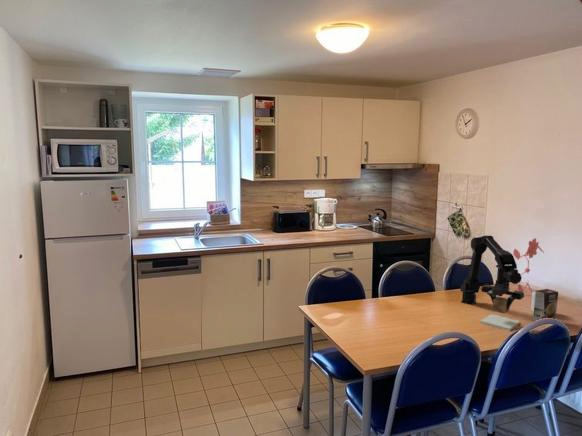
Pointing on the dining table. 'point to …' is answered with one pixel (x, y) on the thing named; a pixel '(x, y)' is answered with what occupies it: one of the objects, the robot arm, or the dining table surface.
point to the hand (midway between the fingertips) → (500, 308)
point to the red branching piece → (531, 252)
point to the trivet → (500, 322)
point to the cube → (500, 305)
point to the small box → (533, 301)
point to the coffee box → (545, 304)
